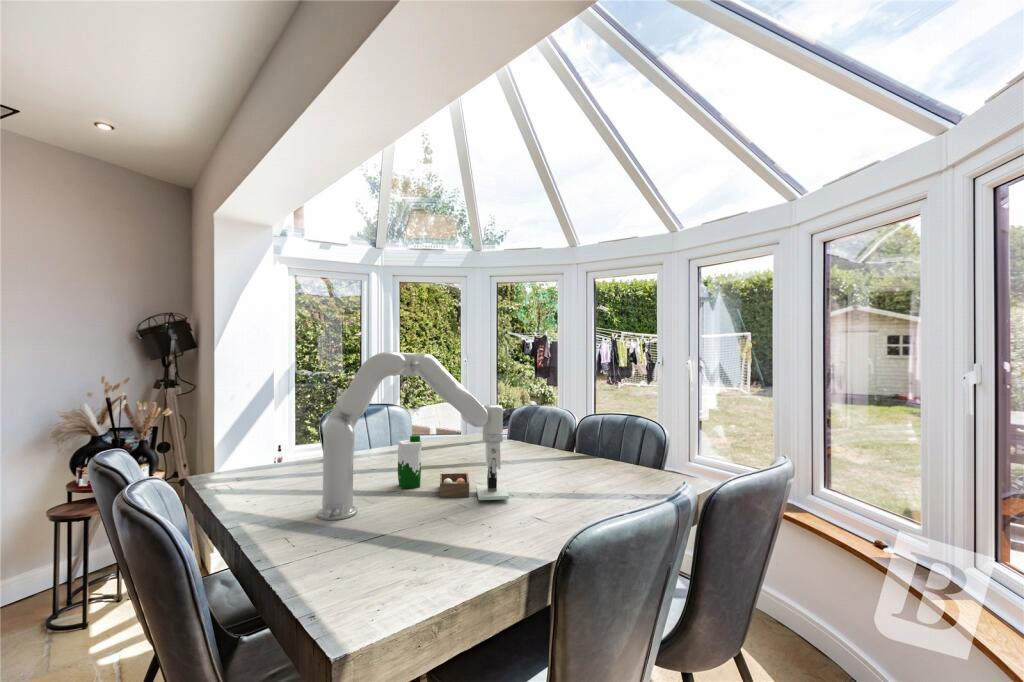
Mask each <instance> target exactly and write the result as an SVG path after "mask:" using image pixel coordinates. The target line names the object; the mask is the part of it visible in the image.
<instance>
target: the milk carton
mask: <svg viewBox="0 0 1024 682" xmlns="http://www.w3.org/2000/svg"><path fill="white" fill-rule="evenodd" d="M422 445H423V443H422V441H421V435H418V434H417V435H410V436H409V439H404V440H398V445H397V446H398V448H397V451H398V452H397V480H398V486H399V487H400V488H401V490H407V489H416V488H421V479H422Z"/></svg>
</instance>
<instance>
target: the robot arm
mask: <svg viewBox="0 0 1024 682" xmlns="http://www.w3.org/2000/svg"><path fill="white" fill-rule="evenodd" d="M391 376H393V377H396V376H408V377H409V376H418V377H419V378H420V379H422V380H423V382H425V383H426V384H427V385H428V386H429V388H431V389H432V390H433V391H434V392H435V393H436V395H437V396H438V397H439V398H440V399H442V400H443V401H445V402H446V403H448V404H449V405H451V406H452V407H453V408H455V410H456V411H458V412H459V413H460V416H461V418H462V420H463V421H464V422H465V423H466V424H468V425H470V426H472V427H474V428H481V427H482V443H485V464H486V468H487V472H488V471H489V477H488V474H487V475H486V479H487V480H486V483H487V482H488V488H497V485H498V471H497V469H498V470H501V467H502V465H501V459H502V458H501V443H503V437H504V436H503V434H504V433H503V431H504V430H503V429H504V425H503V424H504V420H503V419H504V407H503V406H502V405H501V404H493V403H491V404H481V402H480V401H479V400H478V399H477V398H476V397H475V396H473V394H472V393H470V392H469V391H468V390H467V389H466V388H465V387H464V386H463V385H462V384H461V383H460V382H459V381H458V380H457V379H456V378H455V377H454V376H453V375H452V374H451V373H450V372H449V371H448V370H447V369H446V368H445V366H443V364H442V363H441V362H440V361H439V360H438V359H437V358H436V357H434V356H433V355H432V354H431V353H425V352H424V353H423V352H422V353H421V352H419V353H414V352H412V353H411V352H397V351H385V352H383V351H382V352H380V353H376V354H374V355H373V356H370V357H369V358H367V359H366V360H365V361H364V362H363V363H362V365H361V366H360V367H359V369H358V370H357V372H356V374H355V376H354V377H353V378H352V381H351V382H350V385H349V386H348V388H347V389H345V390H344V391H343V392H342V393H341V395H340V396H339V397H338V399H337V401H336V403H335V405H334V406H333V409H332V411H331V412H330V415H329V416H328V418H327V420H326V421H325V424H324V428H323V436H322V437H323V440H322V442H323V443H322V445H323V446H322V447H323V455H322V501H321V502H322V503H321V504H322V508H320V509H319V510H317V512H316V516H317V518H319V519H320V520H324V521H325V520H326V521H337V520H338V521H339V520H344V519H348V518H351V517H353V516H355V515H356V514H357V513H358V507H357V506H355V505H353V504H354V503H353V501H354V500H353V499H354V498H353V497H354V496H353V495H354V457H355V456H354V454H355V453H354V452H355V427H356V425H357V423H358V421H359V419H360V417H361V416H362V415H363V414H365V413H366V412H367V410H368V408H369V405H370V404H371V401H372V399H373V397H374V395H375V394H376V391H377V390H378V388H379V386H380V384H381V383H382V381H383V380H385V379H386V378H387V377H391ZM491 471H492V472H491Z"/></svg>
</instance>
